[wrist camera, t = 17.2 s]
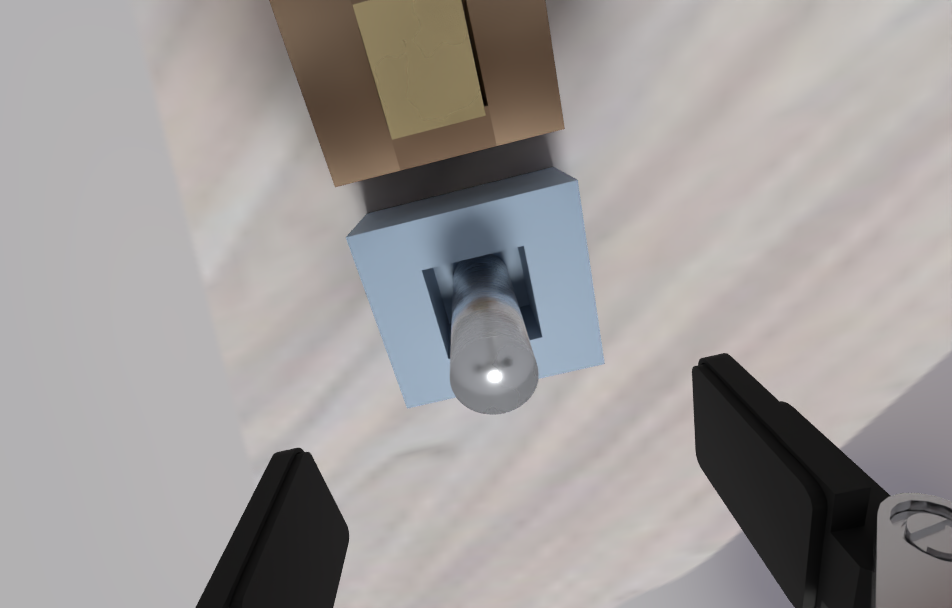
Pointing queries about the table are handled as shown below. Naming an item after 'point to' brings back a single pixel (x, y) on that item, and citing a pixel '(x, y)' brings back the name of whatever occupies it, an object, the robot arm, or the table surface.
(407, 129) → the key
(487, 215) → the blue square hole block
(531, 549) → the table surface
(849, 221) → the table surface
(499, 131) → the socket block
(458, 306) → the steel peg
